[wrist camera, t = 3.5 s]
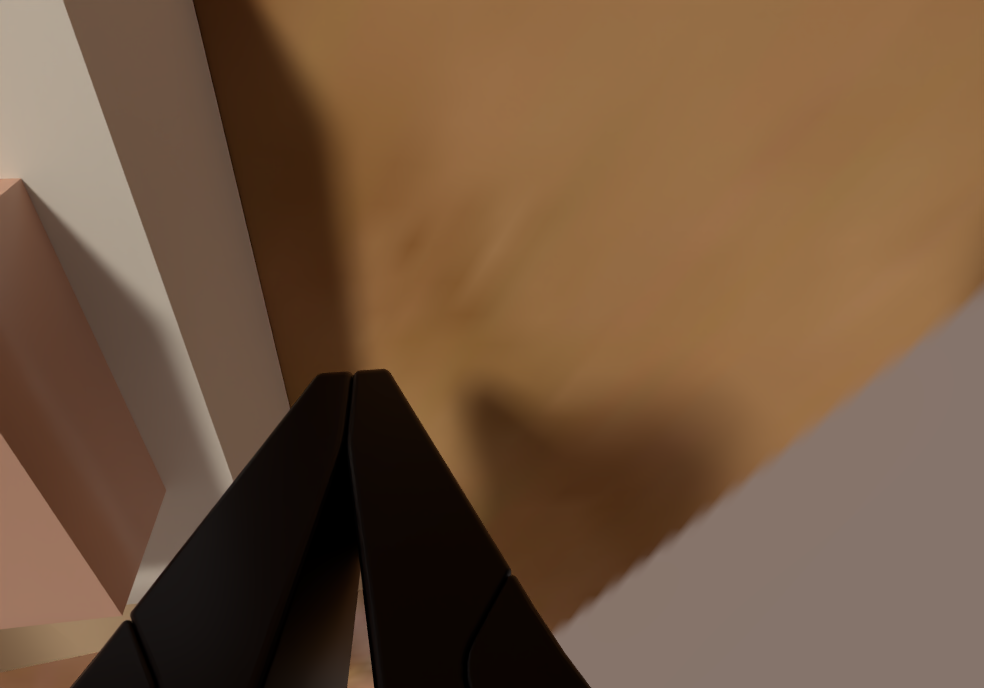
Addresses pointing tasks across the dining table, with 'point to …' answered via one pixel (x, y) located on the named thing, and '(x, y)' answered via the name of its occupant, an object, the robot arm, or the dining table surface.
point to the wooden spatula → (59, 640)
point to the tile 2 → (62, 444)
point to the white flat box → (146, 234)
